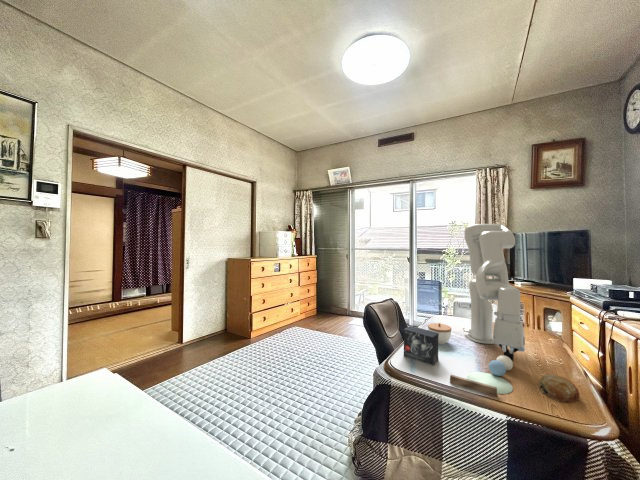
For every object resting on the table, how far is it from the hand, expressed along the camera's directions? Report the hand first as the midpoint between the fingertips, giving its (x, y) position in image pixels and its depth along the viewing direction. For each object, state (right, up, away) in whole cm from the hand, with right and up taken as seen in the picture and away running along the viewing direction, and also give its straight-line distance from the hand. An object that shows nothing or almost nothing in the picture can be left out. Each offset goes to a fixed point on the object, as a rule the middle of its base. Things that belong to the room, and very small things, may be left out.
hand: (508, 361), depth 107 cm
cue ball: (-4, +1, -4) cm, 6 cm away
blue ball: (-10, +1, -8) cm, 13 cm away
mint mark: (-17, -2, -13) cm, 21 cm away
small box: (-34, -2, +7) cm, 35 cm away
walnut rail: (-25, -2, -17) cm, 30 cm away
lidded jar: (-17, -2, +25) cm, 30 cm away
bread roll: (+3, -2, -20) cm, 20 cm away
